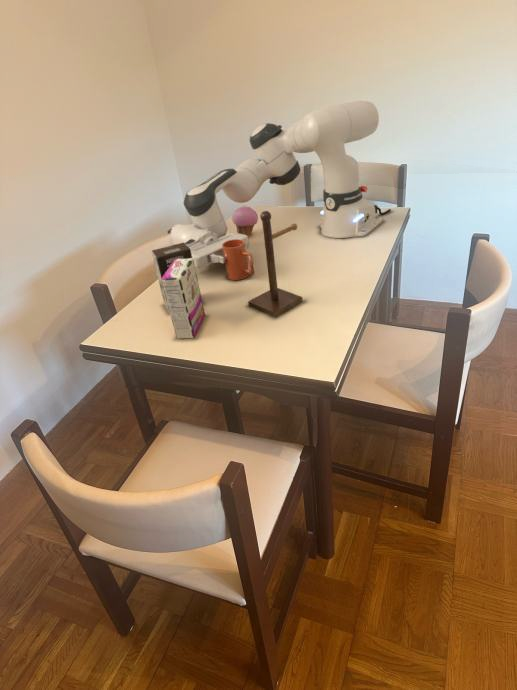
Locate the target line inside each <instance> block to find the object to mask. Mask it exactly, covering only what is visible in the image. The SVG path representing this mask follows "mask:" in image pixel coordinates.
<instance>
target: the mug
mask: <svg viewBox="0 0 517 690" xmlns="http://www.w3.org/2000/svg"><path fill="white" fill-rule="evenodd" d="M222 247H223V253H224V256H226V258H227V262H225V263H224V265H225V269H226V274H227V275H226V276H227V279H229V280H232V281H240V280H244V279H246V278H247V277H249V276H250V275H251V276H254V275H255V267H254V260H253V254H252V253H251V252H248V251H247V252H246V249H245V242H244V241H243V240H240V239H234V240H229V241H226V242H224V243H223V244H222ZM248 262H249V263H248ZM248 264H249V265H248Z"/></svg>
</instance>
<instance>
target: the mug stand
mask: <svg viewBox="0 0 517 690" xmlns="http://www.w3.org/2000/svg"><path fill="white" fill-rule="evenodd" d="M259 216H260V220H261V223H262V234H263V240H264V241H263V242H264V251H265V259H266V268H267V276H268V285H269V286H268V287H269V290H266V291H265V292H263V293H261V294H259V295H258V296H256V297H253V298H252V299H250V300H248V301H247V304H248V307H249V308H252V309H254V310H256V311H258V312H261V313H263V314H265V315H268V316H271V317H273V318H277V317H279V316H281V315H282V314H284V313H286V312H287V311H289V310H290V309H293V308H294V307H296V306H298V305H300V304H301V303H303V296H300V295H298V294H294V293H292V292H290V291H288V290H285V289H282V288H279V287H278V280H277V269H276V260H275V249H274V241H273V240H275V239H277V238H279V237H281V236H283V235H285V234H288V233H290V232H292V231H296V230H297V229H298V225H297V224H296V223H292V224H291V225H290V226H288V227H286V228H284V229H281V230H279V231H277V232H275V233H273V232H272V231H273V230H272V223H271V219H272V214H271V212H270V211H268V210H264V211H262V212H261V213H260V215H259Z"/></svg>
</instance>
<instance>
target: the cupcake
mask: <svg viewBox="0 0 517 690" xmlns="http://www.w3.org/2000/svg"><path fill="white" fill-rule="evenodd" d="M231 220H232V222H233V224H234V225H235V226H236V227H235V228H236V233H239V234H244V235H247V236H248V238H250V237H251V236H252V233H253V231H254V227H255V226H256V224H257V223H258V220H259V216H258V213H257V212H256V210H254V209H253V208H252V207H250V206H240V207H238V208H237V209H236V210H234V211H233V212H232V216H231Z"/></svg>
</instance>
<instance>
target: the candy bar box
mask: <svg viewBox="0 0 517 690" xmlns="http://www.w3.org/2000/svg"><path fill="white" fill-rule="evenodd" d="M161 282H162V285H163V289H164V293H165V297H166V301H167V304H168V307H169V311H170V313H169V314H170V320H171V322H172V326H173V331H174V333H175V337H176V339H178V340H184V339H187V340H189V339H191V340H192V339H195V338H196V336H197V334H198V332H199V330H200V328H201V326H202V324H203V321H204V319H205V318H206V316H207V315H206V312H205V307H204V303H203V297H202V294H201V288H200V284H199V280H198V275H197V269H196V268H195V266H194V261H193V258H183V259H175V260H174V261H173V263H172V264H171V266H170V267H169V269H168V270H167V271H166V273H165V274H164V276H163V277H162V279H161ZM169 311H168V312H169Z"/></svg>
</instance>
